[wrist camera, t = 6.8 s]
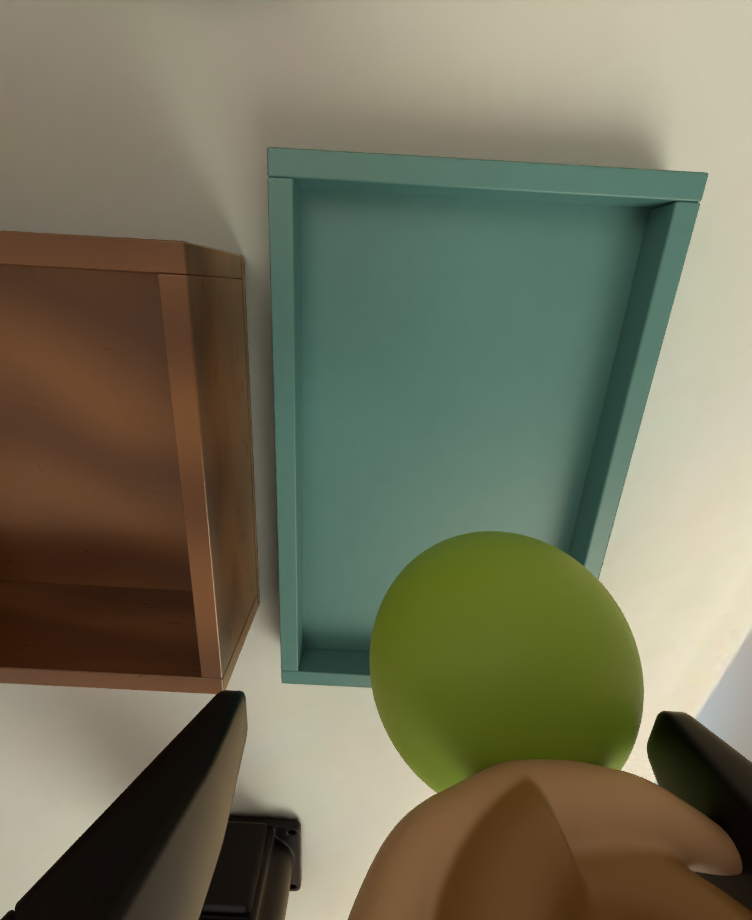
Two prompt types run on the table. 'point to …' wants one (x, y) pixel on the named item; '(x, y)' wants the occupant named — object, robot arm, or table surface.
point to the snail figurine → (526, 750)
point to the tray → (453, 366)
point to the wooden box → (124, 464)
